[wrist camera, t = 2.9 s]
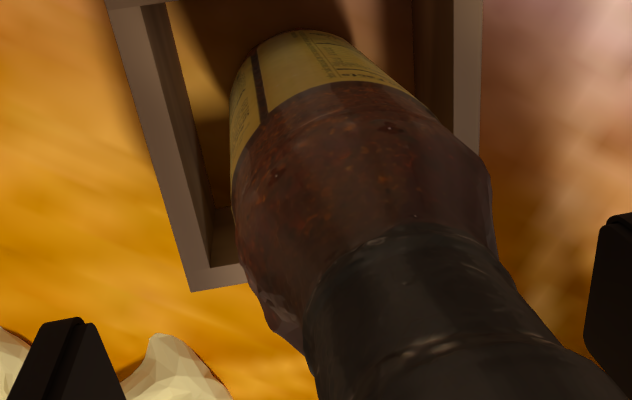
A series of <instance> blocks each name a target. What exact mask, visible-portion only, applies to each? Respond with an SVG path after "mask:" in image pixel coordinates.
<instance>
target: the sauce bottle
mask: <svg viewBox="0 0 632 400" xmlns="http://www.w3.org/2000/svg"><path fill="white" fill-rule="evenodd" d="M229 125H230V183H231V210H232V214H233V218H234V222H235V225H236V226H235V244H236V247H237V254H238V259H239V263H240V265H241V266H242V268H243V269H244V271H245V274H246V277H247V281H248V284H249V286H250V288H251V289H252V291H253V292H254V293H255V295H256V296H257V298H258V300H259V302H260V304H261V307H262V309H263V312H264V316H265V319H266V322H267V324H268V326H269V328H270V329H271V330H272V331H273V332H275V333H277V334H278V335H280V336H281V337H283V338H284V339H285V340H286V341H288V342H289V343H290V344H291V345H292V346H293V347H294V348H296V349H297V350H298V351H299V352H300V353H301V354H302V355H304V356H305V358H306V361H307V364H308V367H309V370H310V372H311V374H312V375H313V376H314V377H315V383H316V389H317V394H318V398H319V400H629V399H628V398H627V396H626V395H625V394H624V392H623V391H622V390H621V389H620V388H619V387H618V385H617V384H616V383H615V382H614V381H613V379H612V378H611V377H610V376H609V375H607V374H606V373H605V372H604V371H603V370H601V369H600V368H599V367H598V366H597V365H596V364H595V363H593V362H592V361H591V360H589V359H587V358H585V357H583V356H581V355H579V354H577V353H575V352H573V351H571V350H569V349H566V348H564V347H563V346H562V344H561V343H560V342H559V341H558V340H557V339H556V337H555V336H554V335H553V334H552V332H551V331H550V330H549V329H548V328H547V326H546V325H545V324H544V323H543V322H542V320H541V319H540V318H539V316H538V315H537V314H536V313H535V311H534V310H533V309H532V308H531V307H530V306H529V305H528V304H527V303H526V301H525V300H524V299H523V297H522V296H521V295H520V294H519V293H518V291H517V289H516V286H515V283H514V281H513V279H512V277H511V276H510V274H509V272H508V271H507V270H506V269H505V268H504V267H503V266H502V264H501V263H500V262H499V257H498V251H497V245H496V238H495V232H494V225H493V216H492V188H491V181H490V175H489V173H488V171H487V169H486V167H485V165H484V163H483V161H482V160H481V158H480V157H479V156H478V155H477V154H476V153H475V152H473V151H472V150H471V149H470V148H469V147H467V146H466V145H465V144H464V143H463V142H461V141H460V140H459V139H458V138H457V137H455V136H454V135H453V134H452V133H451V132H450V131H449V130H448V129H447V128H445V127H444V126H443V125H442V124H441V123H440V121H439V120H438V118H437V117H436V116H435V115H434V114H433V113H432V112H431V111H430V110H429V109H428V108H427V107H426V106H425V105H424V104H423V103H421V102H420V101H419V100H418V99H416V98H415V97H414V96H413V95H412V94H410V93H409V92H408V91H407V90H406V89H404V88H403V87H402V86H401V85H399V84H398V83H397V82H396V81H394V80H393V79H392V78H391V77H389V76H388V75H387V74H386V73H384V72H383V71H382V70H381V69H380V68H379V67H377V66H376V65H375V64H374V63H373V62H371V61H370V60H369V59H368V58H367V57H366V56H364V55H363V54H362V53H361V52H360V51H359V50H357V49H356V48H355V47H354V46H352V45H351V44H350V43H348V42H347V41H346V40H344V39H343V38H342V37H339V36H336V35H333V34H330V33H327V32H322V31H315V30H312V29H306V28H296V29H295V30H292V31H288V32H283V33H280V34H278V35H275V36H273V37H271V38H270V39H268V40H265V41H264V42H263V43H262V44H260V45H258V46H256V47H255V48H253V49H252V50H251V51H250V52H249V53H248V54H247V56H246V58H245V59H244V61H243V63H242V64H241V67H240V69H239V71H238V73H237V75H236V77H235V80H234V83H233V85H232V89H231V93H230V98H229Z"/></svg>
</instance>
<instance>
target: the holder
mask: <svg viewBox="0 0 632 400" xmlns="http://www.w3.org/2000/svg"><path fill="white" fill-rule="evenodd" d="M104 1H105V5H106V8H107V12H108V15H109V18H110V22H111V25H112V28H113V32H114V35H115V38H116V42H117V45H118V49H119V52H120V55H121V59H122V62H123V65H124V69H125V72H126V76H127V79H128V82H129V86H130V89H131V92H132V96H133V99H134V103H135V106H136V109H137V113H138V116H139V119H140V123H141V126H142V129H143V133H144V136H145V140H146V143H147V146H148V150H149V153H150V156H151V160H152V163H153V167H154V170H155V173H156V177H157V180H158V183H159V187H160V190H161V194H162V197H163V200H164V204H165V207H166V210H167V214H168V217H169V220H170V224H171V227H172V231H173V234H174V237H175V241H176V244H177V247H178V251H179V254H180V258H181V261H182V264H183V268H184V271H185V274H186V278H187V281H188V285H189V288H190V291H191V292H196V291H202V290H208V289H214V288H219V287H225V286H231V285H237V284H242V283H248V281H247V277H246V274H245V271H244V269H243V268H242V266H241V265H240V263H239V259H238V254H237V247H236V244H235V226H236V225H235V222H234V218H233V214H232V210H231V206H230V207H224V208H218V209H216V208H215V204H214V200H213V196H212V192H211V188H210V184H209V180H208V176H207V172H206V168H205V164H204V159H203V155H202V151H201V147H200V143H199V139H198V135H197V131H196V127H195V123H194V119H193V115H192V111H191V106H190V102H189V98H188V94H187V90H186V86H185V82H184V78H183V74H182V70H181V66H180V62H179V58H178V53H177V49H176V45H175V41H174V37H173V33H172V29H171V25H170V21H169V17H168V13H167V9H166V5H165V2H170V1H177V0H104ZM482 21H483V0H412V24H413V53H414V82H415V98H416V99H418V100H419V101H420V102H421V103H423V104H424V105H425V106H426V107H427V108H428V109H429V110H430V111H431V112H432V113H433V114H434V115H435V116H436V117H437V118H438V120H439V121H440V123H441V124H442V125H443V126H444V127H445V128H447V129H448V130H449V131H450V132H451V133H452V134H453V135H454V136H455V137H457V138H458V139H459V140H460V141H461V142H463V143H464V144H465V145H466V146H467V147H469V148H470V149H471V150H472V151H473V152H475V153H476V154H477V155H478V156H479V135H480V97H481V59H482Z"/></svg>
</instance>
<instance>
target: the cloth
mask: <svg viewBox="0 0 632 400" xmlns="http://www.w3.org/2000/svg"><path fill="white" fill-rule="evenodd" d="M148 339H149V340H150V341H149V344H148V348H147V352H146V356H145V359H144V360H143V362H142V364H141V365H140V366H139V367H138V368H137V369H136V370H135V371H134V372H133V373H132V374H131V375H130V376H129V377H127V378H126V379H125V380H123V381H122V382H120V385H121V388H122V390H123V392H124V395H125V397H126V399H127V400H233V398H232V396H231V394H230V392H229V391H228V389H226V388H225V387H224V386H223V385H222V384H221V383H220V382H219V381H218V380H217V379H216V378H215V377H214V376H212V374H211V372H210V369H209V368H208V367H207V366H206V365H205V364H204V363H203V362H202V361H201V360H200V359H199V357H198V356H197V355H196V354H195V353H194V351H193V350H192V349H191V348H190V347H189V346H188V345H186V344H185V343H184V342H183V341H181V340H180V339H178V338H176V337H174V336H172V335H166V334H161V333H155V334H154V335H153V336H152V337H151V338H148ZM30 348H31V346H29V345H28V344H27V343H26V342H24V341H23V340H22V339H20V338H19V337H17V336H15V335H13V334H11V333H9V332H8V331H6V330H4V329H3V328H2V327H1V326H0V400H6V399H7V397H8V395H9V393H10V390H11V388H12V386H13V384H14V382H15V380H16V378H17V376H18V373H19V371H20V369H21V367H22V365H23V363H24V361H25V359H26V356H27V354H28V352H29V350H30Z"/></svg>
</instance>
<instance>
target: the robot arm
mask: <svg viewBox="0 0 632 400" xmlns="http://www.w3.org/2000/svg"><path fill="white" fill-rule="evenodd" d="M583 338H584V342H585V345H586V347H587V349H588V351H589V352H590V354H591V355H592V356H593V357H594V358H595V360H596V361H597V362H598V363H599V364H600V366H601V367H602V368H603V369H604V370H605V371H606V373H607V374H608V375H609V376H610V377H611V378H612V379H613V381H614V382H615V383H616V384H617V385H618V387H619V388H620V389H621V390H622V391H623V392H624V394H625V395H626V396H627V398H628V399H629V400H632V212H630V213H625V214H620V215H614V216H612V217H610V218H609V219H608V220H607V223H606V225H604V226H602V227H601V229H600V231H599V236H598V242H597V249H596V255H595V261H594V268H593V274H592V280H591V287H590V293H589V299H588V306H587V312H586V319H585V325H584V331H583ZM6 400H127V399H126V397H125V395H124V392H123V390H122V388H121V385H120V383H119V380H118V378H117V376H116V373H115V371H114V369H113V366H112V364H111V362H110V359H109V357H108V354H107V352H106V350H105V347H104V345H103V343H102V340H101V338H100V335H99V333H98V331H97V328H96V327H95V325H94V324H93V323H87V324H85V323H84V321H83V320H82V319H81V318H80V317H73V318H68V319H63V320H58V321H52V322H47V323H44V324H43V325H42V326H41V327H40V329H39V331H38V333H37V335H36V337H35V339H34V342H33V344H32V346H31V348H30V350H29V352H28V354H27V356H26V359H25V361H24V363H23V365H22V367H21V369H20V371H19V373H18V376H17V378H16V380H15V382H14V384H13V386H12V388H11V390H10V393H9V395H8V397H7V399H6Z"/></svg>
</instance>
